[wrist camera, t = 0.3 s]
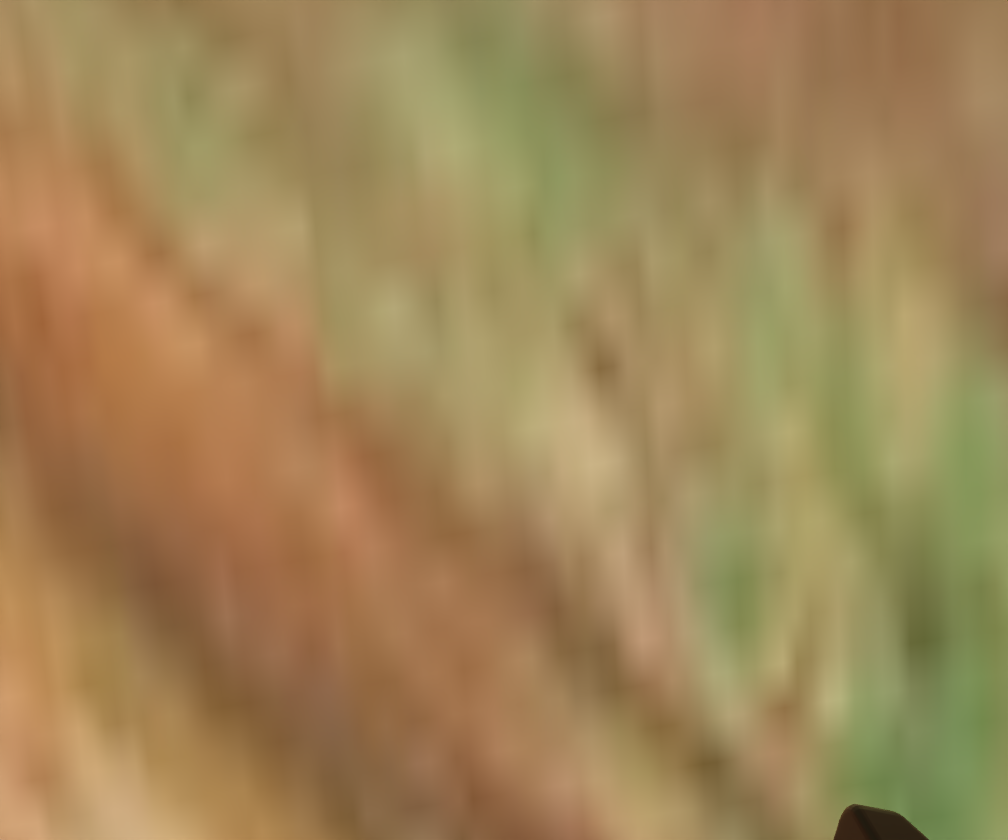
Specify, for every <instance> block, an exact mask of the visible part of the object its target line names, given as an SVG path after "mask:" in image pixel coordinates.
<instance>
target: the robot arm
mask: <svg viewBox="0 0 1008 840" xmlns="http://www.w3.org/2000/svg"><path fill="white" fill-rule="evenodd" d="M834 840H929V839H928V838H926V837H925V836H924V835H923V834H922V833H921V832H920V831H919V830H918V829H916V828H915V827H914V826H913V825H912V824H911V823H910V822H909V821H908V820H906V819H905V818H904V817H903V816H902V815H900V814H898V813H896V812H894V811H889V810H884V809H879V808H874V807H868V806H863V805H858V804H852V805H850V806H848V807H847V808H846V809H845V810H844V812H843V813H842V815H841V818H840V820H839V823H838V827H837V830H836V833H835V836H834Z"/></svg>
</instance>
